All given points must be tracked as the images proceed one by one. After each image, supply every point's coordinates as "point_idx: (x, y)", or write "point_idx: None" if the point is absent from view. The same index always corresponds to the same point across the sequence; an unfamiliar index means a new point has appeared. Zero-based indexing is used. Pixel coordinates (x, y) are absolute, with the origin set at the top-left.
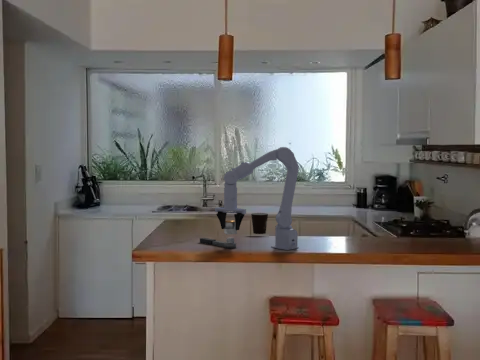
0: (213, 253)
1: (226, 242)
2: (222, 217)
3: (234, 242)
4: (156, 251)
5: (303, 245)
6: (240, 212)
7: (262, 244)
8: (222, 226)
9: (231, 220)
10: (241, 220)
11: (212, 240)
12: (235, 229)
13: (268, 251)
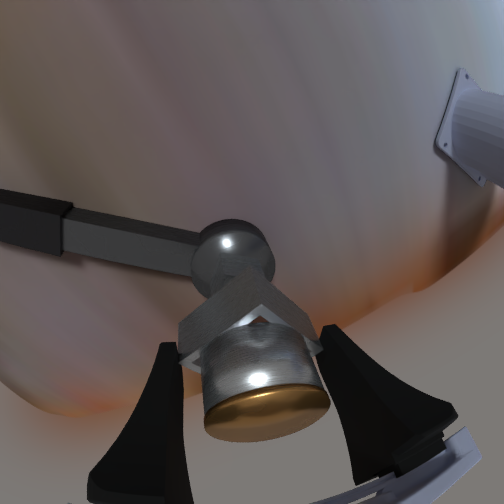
0: None
1: (195, 266)
2: (184, 472)
3: (247, 237)
4: (70, 407)
5: (499, 54)
6: (419, 468)
7: (371, 50)
8: (183, 393)
9: (259, 403)
10: (396, 384)
11: (61, 246)
12: (310, 351)
13: (430, 236)
